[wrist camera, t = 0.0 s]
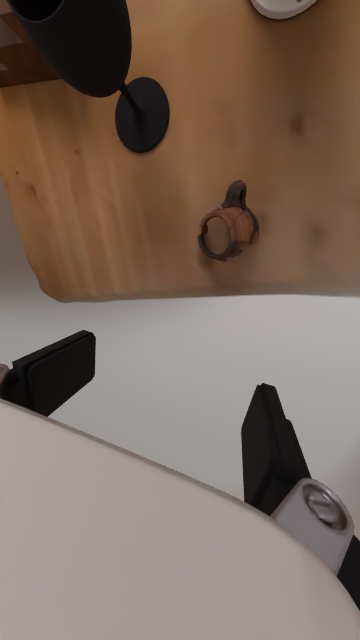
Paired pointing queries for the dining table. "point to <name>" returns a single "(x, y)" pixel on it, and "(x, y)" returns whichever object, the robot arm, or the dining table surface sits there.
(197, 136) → the dining table surface
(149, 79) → the wine glass
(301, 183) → the dining table surface
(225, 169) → the dining table surface
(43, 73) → the spice rack
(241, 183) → the brown twisted piece
